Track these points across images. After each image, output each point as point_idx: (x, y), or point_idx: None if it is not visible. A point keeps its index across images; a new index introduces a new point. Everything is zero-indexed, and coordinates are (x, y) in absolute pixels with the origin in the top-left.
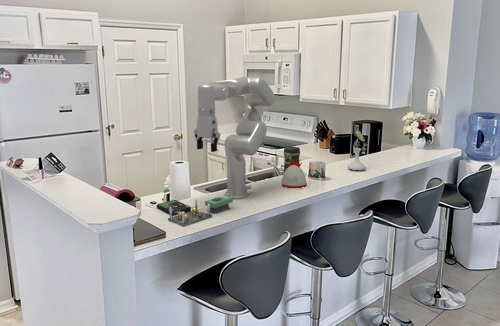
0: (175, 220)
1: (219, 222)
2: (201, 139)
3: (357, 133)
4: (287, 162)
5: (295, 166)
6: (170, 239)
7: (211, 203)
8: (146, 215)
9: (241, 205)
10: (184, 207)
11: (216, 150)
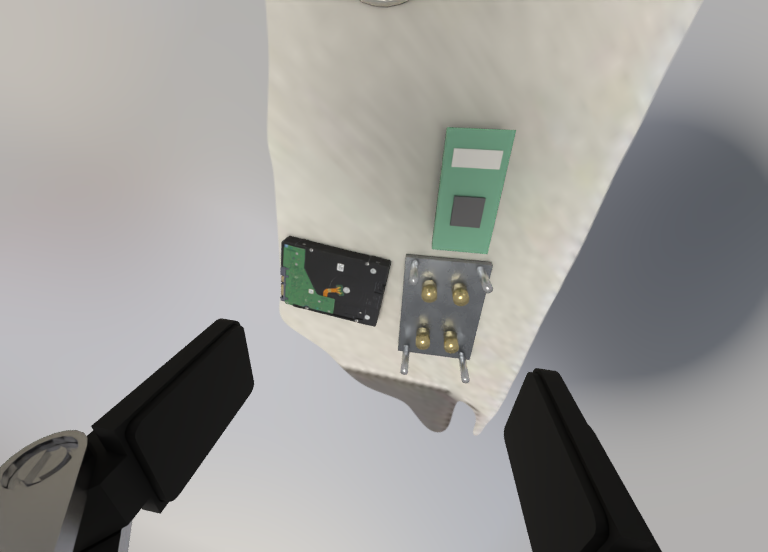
0: (427, 351)
1: (543, 285)
2: (108, 478)
3: None
4: None
5: None
6: (495, 413)
7: (471, 252)
8: (323, 346)
9: (518, 61)
10: (375, 281)
11: (556, 384)
